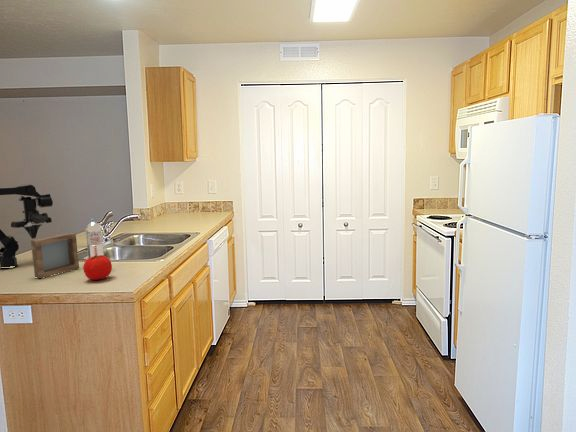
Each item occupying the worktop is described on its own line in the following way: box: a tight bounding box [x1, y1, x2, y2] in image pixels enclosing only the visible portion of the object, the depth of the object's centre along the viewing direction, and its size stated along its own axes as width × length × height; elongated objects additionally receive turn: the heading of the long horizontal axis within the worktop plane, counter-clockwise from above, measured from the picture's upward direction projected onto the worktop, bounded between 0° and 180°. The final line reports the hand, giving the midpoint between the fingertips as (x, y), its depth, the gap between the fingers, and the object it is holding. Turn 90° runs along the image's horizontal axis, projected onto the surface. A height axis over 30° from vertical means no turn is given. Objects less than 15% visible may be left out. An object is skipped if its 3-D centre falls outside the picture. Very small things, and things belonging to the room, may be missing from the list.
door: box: [41, 239, 70, 270], centre depth 213 cm, size 3×17×16 cm, turn 153°
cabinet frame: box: [30, 232, 80, 279], centre depth 211 cm, size 4×20×18 cm, turn 152°
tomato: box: [82, 254, 113, 281], centre depth 198 cm, size 12×12×11 cm
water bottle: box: [85, 218, 105, 259], centre depth 213 cm, size 7×7×25 cm
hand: (33, 238), depth 234 cm, fingers closed
